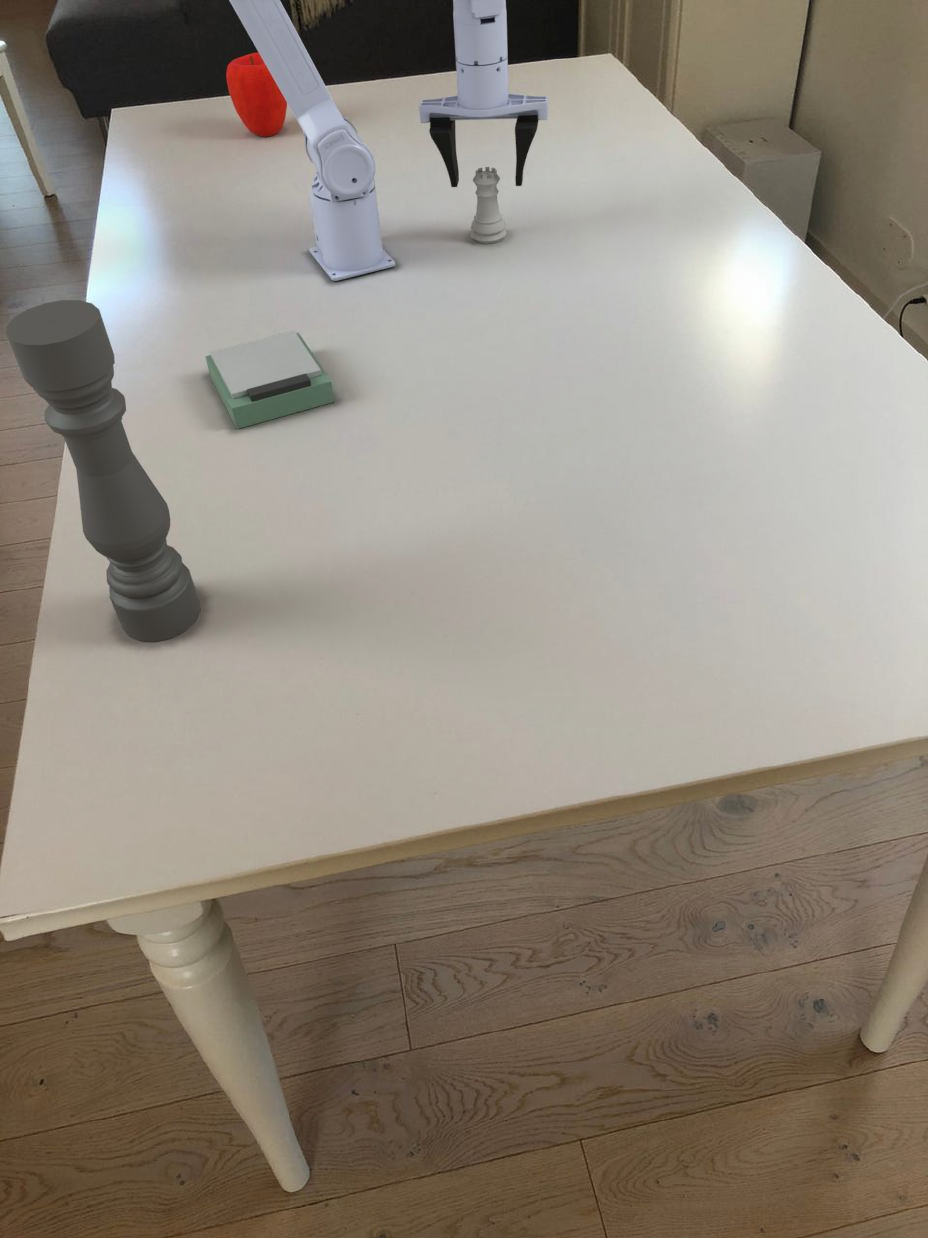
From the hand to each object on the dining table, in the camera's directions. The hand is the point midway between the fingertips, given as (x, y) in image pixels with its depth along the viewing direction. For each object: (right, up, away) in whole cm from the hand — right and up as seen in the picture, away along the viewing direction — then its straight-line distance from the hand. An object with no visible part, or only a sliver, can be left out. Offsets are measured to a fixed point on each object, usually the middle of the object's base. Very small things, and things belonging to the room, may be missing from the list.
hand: (487, 183), depth 120 cm
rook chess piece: (0, -5, +5) cm, 7 cm away
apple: (-33, +23, +36) cm, 54 cm away
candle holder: (-27, -52, -41) cm, 71 cm away
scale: (-22, -29, -18) cm, 41 cm away
